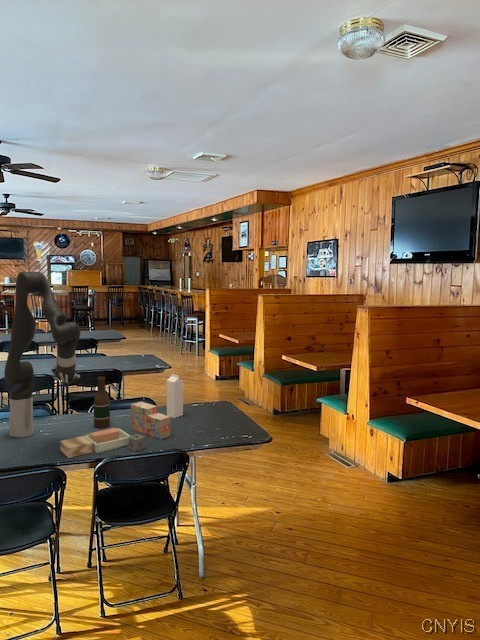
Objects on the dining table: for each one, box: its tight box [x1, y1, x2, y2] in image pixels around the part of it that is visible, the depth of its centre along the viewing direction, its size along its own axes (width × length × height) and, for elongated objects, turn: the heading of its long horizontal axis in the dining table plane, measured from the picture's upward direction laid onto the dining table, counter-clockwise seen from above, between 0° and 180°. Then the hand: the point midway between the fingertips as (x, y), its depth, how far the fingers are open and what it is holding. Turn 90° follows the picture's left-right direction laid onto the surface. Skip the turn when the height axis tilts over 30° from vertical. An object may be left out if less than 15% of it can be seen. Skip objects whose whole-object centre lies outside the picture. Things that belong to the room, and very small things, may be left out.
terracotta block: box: [89, 427, 119, 444], centre depth 198 cm, size 5×5×11 cm
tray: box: [83, 427, 131, 454], centre depth 199 cm, size 16×14×4 cm
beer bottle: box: [93, 376, 111, 429], centre depth 221 cm, size 8×8×24 cm
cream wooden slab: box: [59, 435, 94, 459], centre depth 191 cm, size 10×10×4 cm
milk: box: [166, 373, 184, 419], centre depth 238 cm, size 6×6×22 cm
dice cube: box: [127, 433, 146, 452], centre depth 195 cm, size 5×5×5 cm
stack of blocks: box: [130, 401, 171, 440], centre depth 214 cm, size 21×6×12 cm, turn 50°
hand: (66, 385), depth 205 cm, fingers closed
